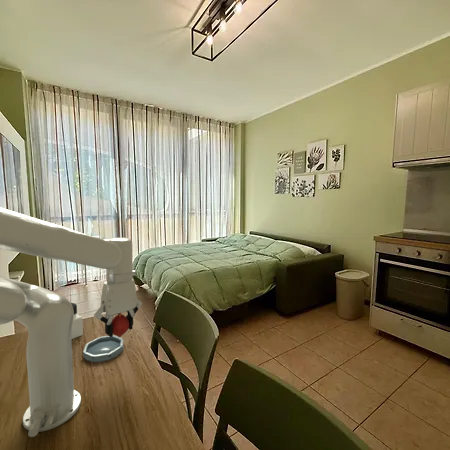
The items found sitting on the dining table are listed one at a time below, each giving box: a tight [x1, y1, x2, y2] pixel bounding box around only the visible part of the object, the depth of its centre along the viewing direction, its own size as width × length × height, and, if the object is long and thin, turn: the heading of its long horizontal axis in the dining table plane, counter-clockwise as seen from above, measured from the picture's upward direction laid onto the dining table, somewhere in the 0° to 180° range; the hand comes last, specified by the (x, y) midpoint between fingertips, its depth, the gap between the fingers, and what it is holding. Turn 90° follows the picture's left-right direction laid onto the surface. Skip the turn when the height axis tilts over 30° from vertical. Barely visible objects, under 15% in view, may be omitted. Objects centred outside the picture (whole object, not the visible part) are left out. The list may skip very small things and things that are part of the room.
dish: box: [82, 334, 125, 363], centre depth 93 cm, size 13×13×2 cm
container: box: [70, 302, 84, 340], centre depth 102 cm, size 8×8×13 cm
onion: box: [111, 313, 129, 338], centre depth 82 cm, size 6×6×8 cm
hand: (119, 331), depth 82 cm, fingers closed on onion, 5 cm apart
